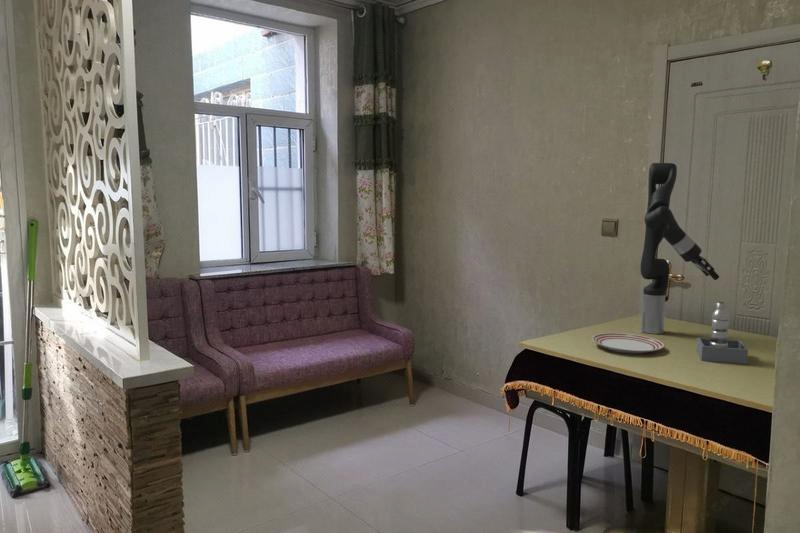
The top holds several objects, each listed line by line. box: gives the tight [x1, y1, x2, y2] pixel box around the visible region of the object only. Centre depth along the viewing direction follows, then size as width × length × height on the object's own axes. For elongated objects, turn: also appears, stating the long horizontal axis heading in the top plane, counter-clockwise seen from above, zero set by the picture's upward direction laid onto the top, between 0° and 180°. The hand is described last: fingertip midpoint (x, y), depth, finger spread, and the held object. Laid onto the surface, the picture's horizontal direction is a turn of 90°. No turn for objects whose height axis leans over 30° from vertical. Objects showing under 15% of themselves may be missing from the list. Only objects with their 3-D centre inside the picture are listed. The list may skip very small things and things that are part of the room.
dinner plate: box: [591, 332, 665, 355], centre depth 243 cm, size 28×27×3 cm
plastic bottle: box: [709, 301, 731, 348], centre depth 228 cm, size 6×7×20 cm
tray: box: [696, 337, 749, 365], centre depth 229 cm, size 15×15×6 cm
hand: (713, 276), depth 241 cm, fingers open, 8 cm apart
